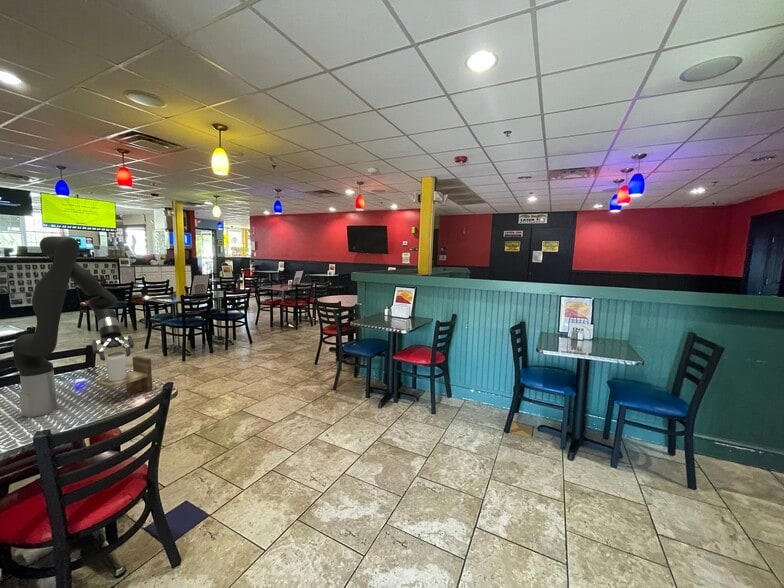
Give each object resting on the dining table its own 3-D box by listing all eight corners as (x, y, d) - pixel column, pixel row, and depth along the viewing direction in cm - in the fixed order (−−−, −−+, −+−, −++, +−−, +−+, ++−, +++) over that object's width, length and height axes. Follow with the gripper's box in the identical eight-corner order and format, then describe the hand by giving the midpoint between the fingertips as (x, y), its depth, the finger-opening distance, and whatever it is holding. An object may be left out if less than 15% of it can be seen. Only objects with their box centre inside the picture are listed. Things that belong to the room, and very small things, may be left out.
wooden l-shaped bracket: (112, 404, 139) (109, 370, 138) (98, 400, 143) (95, 366, 141) (152, 390, 155) (150, 358, 154) (138, 386, 159) (136, 356, 157)
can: (110, 383, 141) (108, 357, 139) (106, 379, 145) (104, 354, 143) (128, 378, 146) (126, 353, 145) (124, 375, 150) (123, 351, 148)
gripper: (89, 326, 142) (95, 356, 136) (129, 322, 153) (137, 350, 147) (88, 336, 146) (94, 365, 140) (127, 331, 157) (135, 358, 151)
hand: (116, 357), depth 144 cm, fingers open, 8 cm apart
